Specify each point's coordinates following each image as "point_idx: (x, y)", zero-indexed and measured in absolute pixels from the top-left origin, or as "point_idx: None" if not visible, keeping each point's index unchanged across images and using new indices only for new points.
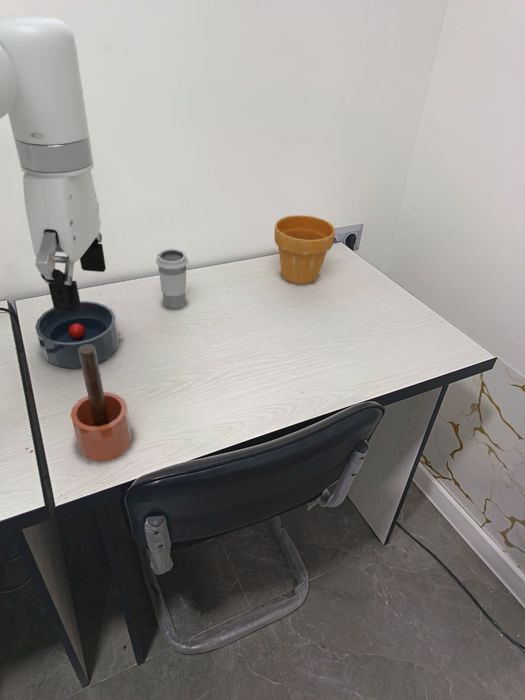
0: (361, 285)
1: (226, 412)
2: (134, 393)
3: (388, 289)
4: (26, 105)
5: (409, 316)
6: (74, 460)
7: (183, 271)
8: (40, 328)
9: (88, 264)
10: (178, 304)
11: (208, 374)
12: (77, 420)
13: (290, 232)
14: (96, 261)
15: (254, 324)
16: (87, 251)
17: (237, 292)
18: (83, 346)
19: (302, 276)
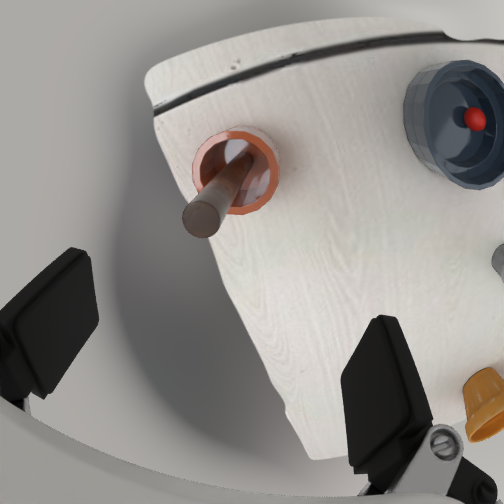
0: (436, 419)
1: (283, 305)
2: (338, 196)
3: None
4: None
5: None
6: (213, 125)
7: None
8: (470, 67)
9: (365, 361)
10: (494, 265)
11: (356, 291)
12: (213, 143)
13: None
14: (353, 397)
15: (429, 343)
16: (374, 418)
17: (487, 327)
18: (209, 212)
19: (467, 390)
